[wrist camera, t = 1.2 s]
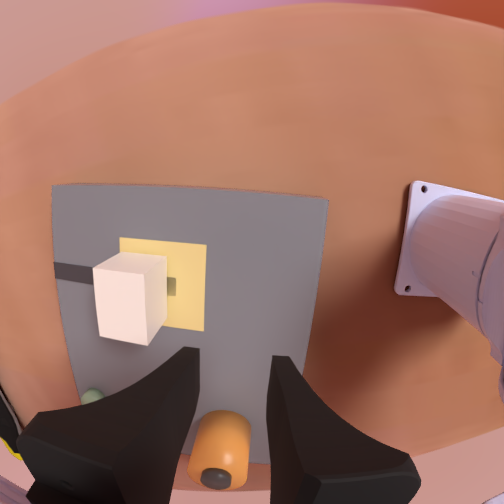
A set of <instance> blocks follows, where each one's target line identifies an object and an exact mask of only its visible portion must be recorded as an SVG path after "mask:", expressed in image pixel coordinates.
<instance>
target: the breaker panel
mask: <svg viewBox="0 0 504 504" xmlns="http://www.w3.org/2000/svg"><path fill="white" fill-rule="evenodd" d="M328 204H329V200H328V199H325V198H323V197H317V196H308V195H298V194H288V193H277V192H266V191H254V190H242V189H228V188H213V187H196V186H176V185H150V184H104V183H71V184H61V185H52V230H53V248H54V261H55V262H54V270H55V278H56V281H57V290H58V297H59V304H60V311H61V317H62V323H63V329H64V334H65V339H66V344H67V349H68V354H69V358H70V363H71V367H72V371H73V375H74V379H75V383H76V386H77V390H78V394H79V397H80V401H81V404H82V405H84V404H87V403H90V402H94V401H96V400H99V399H102V398H104V397H107V396H110V395H112V394H115V393H117V392H119V391H121V390H123V389H125V388H127V387H129V386H131V385H132V384H134V383H136V382H138V381H139V380H141V379H142V378H144V377H145V376H147V375H148V374H150V373H151V372H152V371H154V370H155V369H156V368H158V367H159V366H160V365H162V364H163V363H164V362H165V361H167V360H168V359H169V358H170V357H171V356H173V355H174V354H175V353H176V352H177V351H179V350H180V349H181V348H182V347H184V346H186V347H194V348H200V393H199V398H198V403H197V407H196V412H195V415H194V418H193V420H192V423H191V426H190V429H189V432H188V434H187V437H186V440H185V443H184V445H183V448H182V451H181V454H186V455H191V453H192V450H193V446H194V443H195V439H196V435H197V432H198V428H199V425H200V421H201V419H202V417H203V416H204V415H205V414H207V413H209V412H211V411H215V410H228V411H233V412H236V413H238V414H240V415H242V416H243V417H245V418H246V419H247V420H248V421H249V423H250V425H251V439H250V450H249V461H248V463H257V464H271V463H270V454H269V444H268V434H267V424H266V402H267V391H268V384H269V377H270V369H271V362H272V355H278V356H289V357H290V358H291V359H292V361H293V363H294V364H295V366H296V367H297V369H298V371H299V372H300V373H301V375H303V370H304V364H305V359H306V354H307V349H308V343H309V338H310V332H311V326H312V320H313V314H314V308H315V302H316V296H317V289H318V283H319V276H320V269H321V262H322V254H323V247H324V239H325V231H326V222H327V213H328ZM120 252H130V253H140V254H150V255H160V256H167V319H166V320H165V322H164V323H163V325H162V326H161V328H160V329H159V330H158V332H157V333H156V335H155V336H154V338H153V339H152V341H151V342H150V343H149V345H148V346H146V345H141V344H136V343H130V342H125V341H120V340H116V339H111V338H106V337H102V336H100V334H99V327H98V319H97V311H96V301H95V291H94V279H93V268H94V267H95V266H97V265H99V264H101V263H102V262H104V261H106V260H108V259H109V258H111V257H113V256H115V255H117V254H118V253H120Z"/></svg>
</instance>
